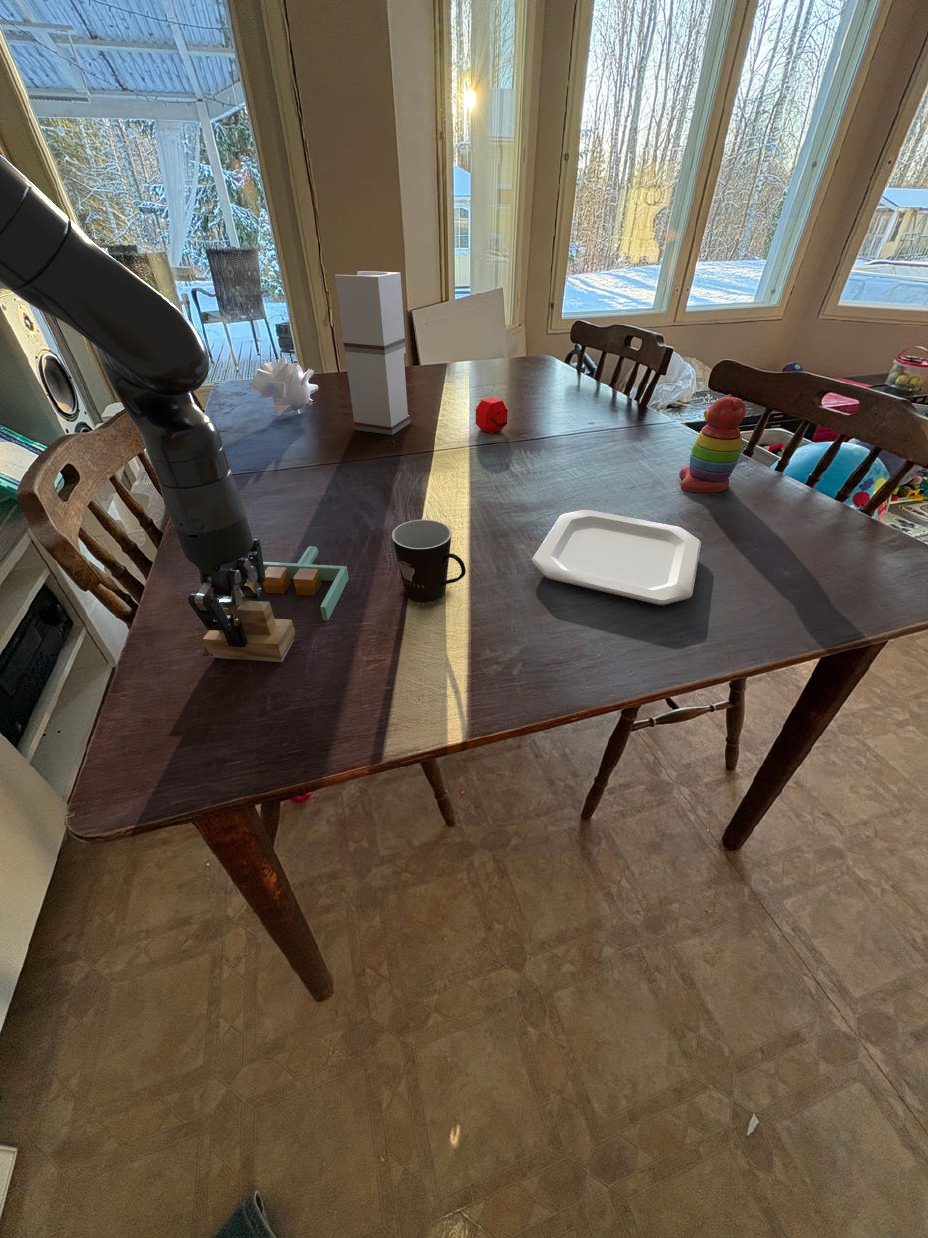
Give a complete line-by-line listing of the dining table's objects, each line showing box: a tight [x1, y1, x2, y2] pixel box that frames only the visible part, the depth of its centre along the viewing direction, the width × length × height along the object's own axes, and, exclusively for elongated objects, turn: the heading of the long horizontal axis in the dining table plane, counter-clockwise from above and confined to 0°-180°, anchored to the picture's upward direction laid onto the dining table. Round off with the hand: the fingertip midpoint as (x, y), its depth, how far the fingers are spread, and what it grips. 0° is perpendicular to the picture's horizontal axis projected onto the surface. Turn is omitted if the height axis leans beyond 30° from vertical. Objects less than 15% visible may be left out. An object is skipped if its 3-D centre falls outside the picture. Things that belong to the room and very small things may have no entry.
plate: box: [531, 509, 702, 606], centre depth 86 cm, size 25×25×2 cm
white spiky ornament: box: [249, 355, 319, 417], centre depth 147 cm, size 20×17×15 cm
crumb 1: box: [262, 567, 292, 595], centre depth 79 cm, size 3×3×3 cm
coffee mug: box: [391, 519, 467, 603], centre depth 76 cm, size 12×9×10 cm
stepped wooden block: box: [202, 600, 296, 663], centre depth 67 cm, size 10×5×8 cm, turn 84°
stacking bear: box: [678, 393, 747, 494], centre depth 105 cm, size 11×10×18 cm
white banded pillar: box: [334, 270, 411, 436], centre depth 130 cm, size 11×11×35 cm
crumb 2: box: [292, 568, 323, 597], centre depth 79 cm, size 3×3×3 cm
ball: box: [475, 397, 509, 434], centre depth 136 cm, size 8×8×8 cm
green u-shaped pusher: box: [221, 545, 350, 621], centre depth 80 cm, size 17×16×2 cm
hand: (248, 630), depth 67 cm, fingers closed on stepped wooden block, 5 cm apart
